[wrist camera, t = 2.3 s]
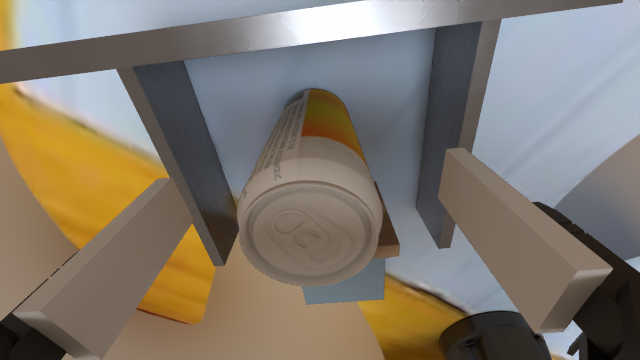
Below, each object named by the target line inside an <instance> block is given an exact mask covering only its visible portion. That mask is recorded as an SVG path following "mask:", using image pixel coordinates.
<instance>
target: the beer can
mask: <svg viewBox="0 0 640 360" xmlns="http://www.w3.org/2000/svg"><path fill="white" fill-rule="evenodd" d="M382 220H383V211H382V205H381V202H380V199H379V196H378V193H377V191H376V188H375V185H374V182H373V180H372V177H371V174H370V171H369V169H368V166H367V163H366V160H365V158H364V155H363V152H362V149H361V147H360V144H359V141H358V138H357V136H356V133H355V130H354V127H353V125H352V122H351V119H350V116H349V114H348V111H347V109H346V107H345V105H344V104H343V102H342V101H341V100H340V99H339V98H338V97H337V96H335V95H334V94H332V93H330V92H328V91H325V90H321V89H309V90H305V91H302V92H300V93H298V94H296V95H294V96H293V97H292V98H291V99H290V100H289V101H288V102H287V104H286V105H285V107H284V109H283V111H282V113H281V115H280V117H279V119H278V121H277V123H276V125H275V127H274V129H273V131H272V133H271V135H270V137H269V139H268V141H267V143H266V145H265V147H264V149H263V151H262V153H261V155H260V157H259V159H258V161H257V163H256V165H255V167H254V169H253V171H252V173H251V175H250V177H249V179H248V181H247V183H246V185H245V187H244V189H243V191H242V193H241V196H240V198H239V201H238V206H237V222H238V225H239V241H240V245H241V248H242V250H243V253H244V254H245V256H246V258H247V259H248V260H249V261H250V263H251V264H252V265H253V266H254V267H255V268H257V269H258V270H259V271H260V272H262V273H263V274H265V275H267V276H269V277H270V278H272V279H275V280H277V281H280V282H283V283H286V284H290V285H296V286H305V287H315V286H325V285H330V284H334V283H338V282H341V281H343V280H346V279H348V278H350V277H352V276H353V275H355V274H357V273H358V272H359V271H361V270H362V269H363V268H364V267H365V266H366V265H367V264H368V263H369V262H370V260H371V259H372V257H373V256H374V254H375V251H376V249H377V245H378V239H379V233H380V230H381V226H382Z"/></svg>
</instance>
